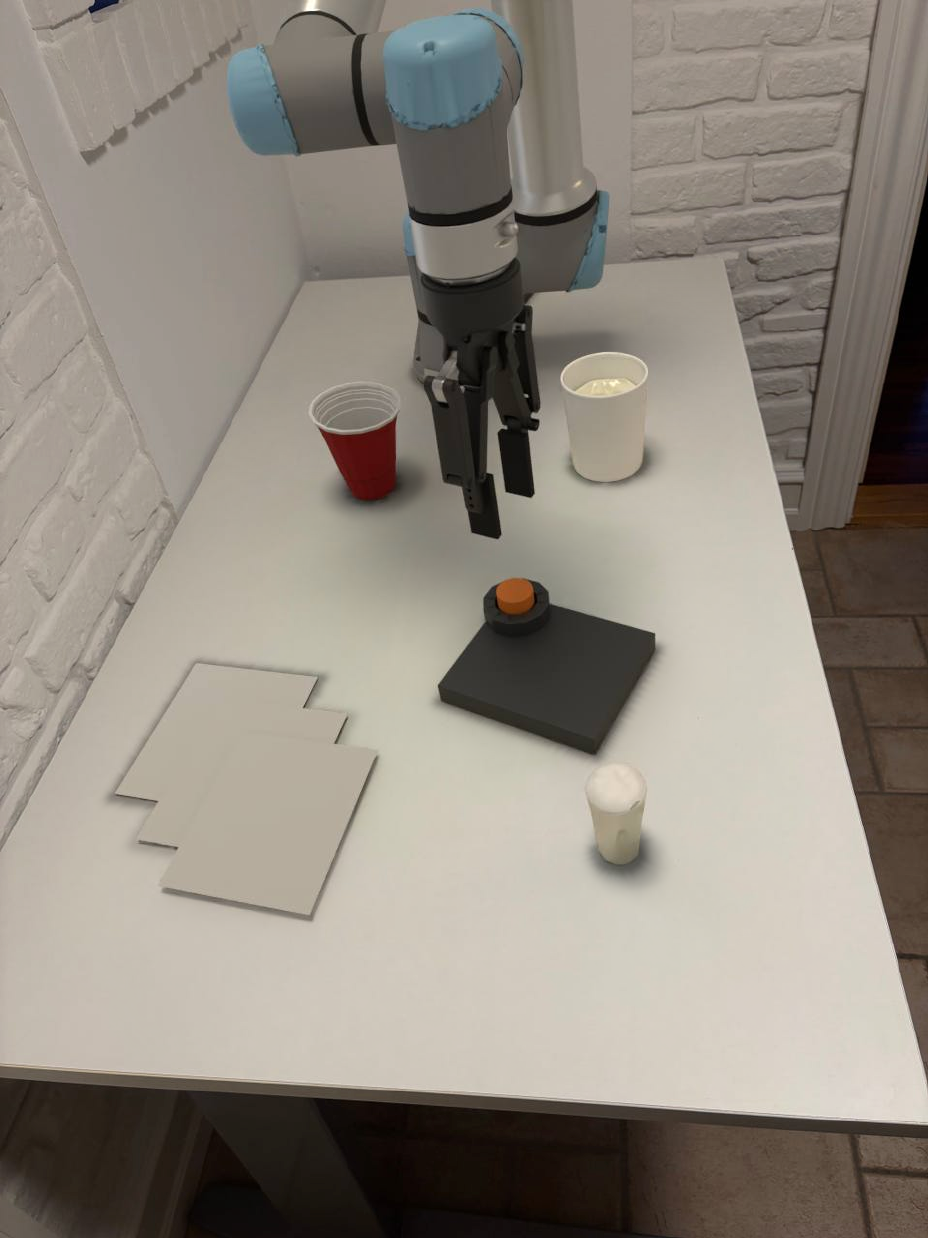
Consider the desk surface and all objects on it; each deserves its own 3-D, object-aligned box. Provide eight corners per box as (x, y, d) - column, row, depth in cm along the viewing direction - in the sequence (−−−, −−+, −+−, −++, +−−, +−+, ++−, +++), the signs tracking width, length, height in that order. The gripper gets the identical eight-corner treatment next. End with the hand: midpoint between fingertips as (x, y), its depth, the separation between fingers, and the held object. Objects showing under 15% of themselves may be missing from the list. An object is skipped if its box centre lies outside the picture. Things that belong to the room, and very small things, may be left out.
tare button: (508, 587, 96) (507, 574, 95) (540, 596, 94) (539, 582, 93) (491, 610, 94) (489, 597, 93) (524, 619, 92) (522, 606, 91)
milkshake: (613, 890, 74) (609, 815, 67) (580, 838, 78) (572, 762, 71) (664, 865, 75) (664, 789, 68) (628, 815, 79) (626, 738, 72)
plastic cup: (406, 514, 113) (386, 428, 105) (321, 513, 116) (295, 429, 108) (427, 461, 121) (410, 377, 113) (346, 461, 123) (324, 379, 115)
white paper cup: (610, 496, 110) (606, 406, 102) (550, 466, 116) (542, 379, 108) (666, 457, 114) (666, 367, 106) (605, 430, 120) (601, 343, 112)
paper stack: (65, 872, 82) (62, 867, 82) (196, 663, 99) (194, 658, 99) (311, 919, 76) (309, 915, 75) (407, 687, 93) (405, 682, 92)
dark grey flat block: (506, 600, 100) (502, 572, 97) (658, 644, 92) (658, 614, 90) (434, 698, 91) (427, 670, 89) (594, 755, 84) (592, 725, 81)
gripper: (447, 329, 64) (489, 587, 79) (569, 217, 74) (585, 463, 90) (357, 316, 67) (414, 566, 83) (486, 210, 78) (515, 449, 94)
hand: (503, 512), depth 86 cm, fingers open, 6 cm apart
